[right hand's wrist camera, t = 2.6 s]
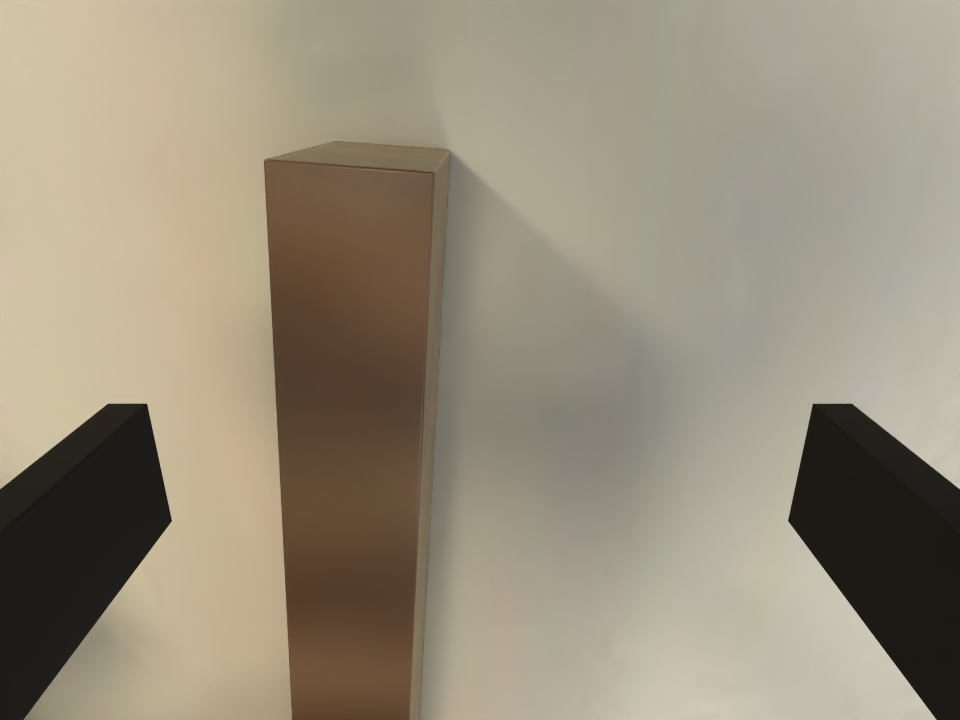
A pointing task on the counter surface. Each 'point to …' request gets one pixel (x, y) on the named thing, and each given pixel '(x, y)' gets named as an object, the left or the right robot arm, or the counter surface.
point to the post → (356, 415)
